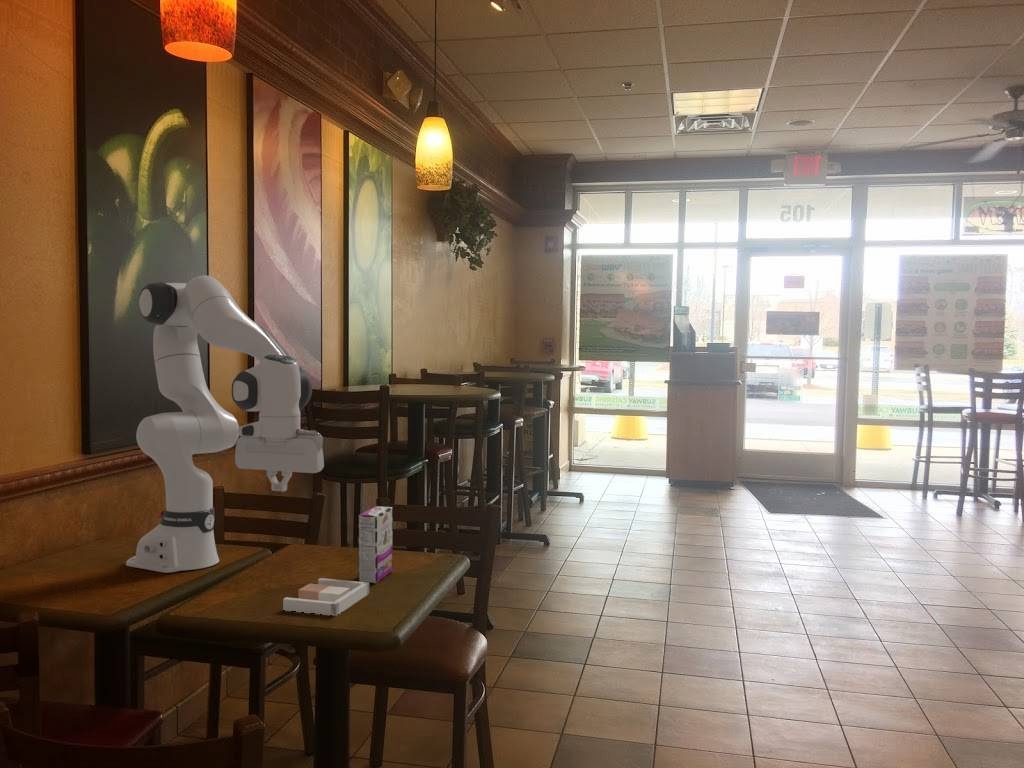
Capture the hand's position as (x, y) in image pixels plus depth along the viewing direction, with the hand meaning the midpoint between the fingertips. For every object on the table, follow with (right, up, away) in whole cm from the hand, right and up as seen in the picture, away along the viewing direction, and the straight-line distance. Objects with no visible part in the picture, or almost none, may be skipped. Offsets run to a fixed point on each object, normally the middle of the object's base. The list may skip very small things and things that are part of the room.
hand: (279, 490), depth 176 cm
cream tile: (+13, -24, -3) cm, 28 cm away
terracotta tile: (+8, -24, -1) cm, 26 cm away
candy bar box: (+18, -24, +18) cm, 35 cm away
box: (+11, -24, -2) cm, 27 cm away
